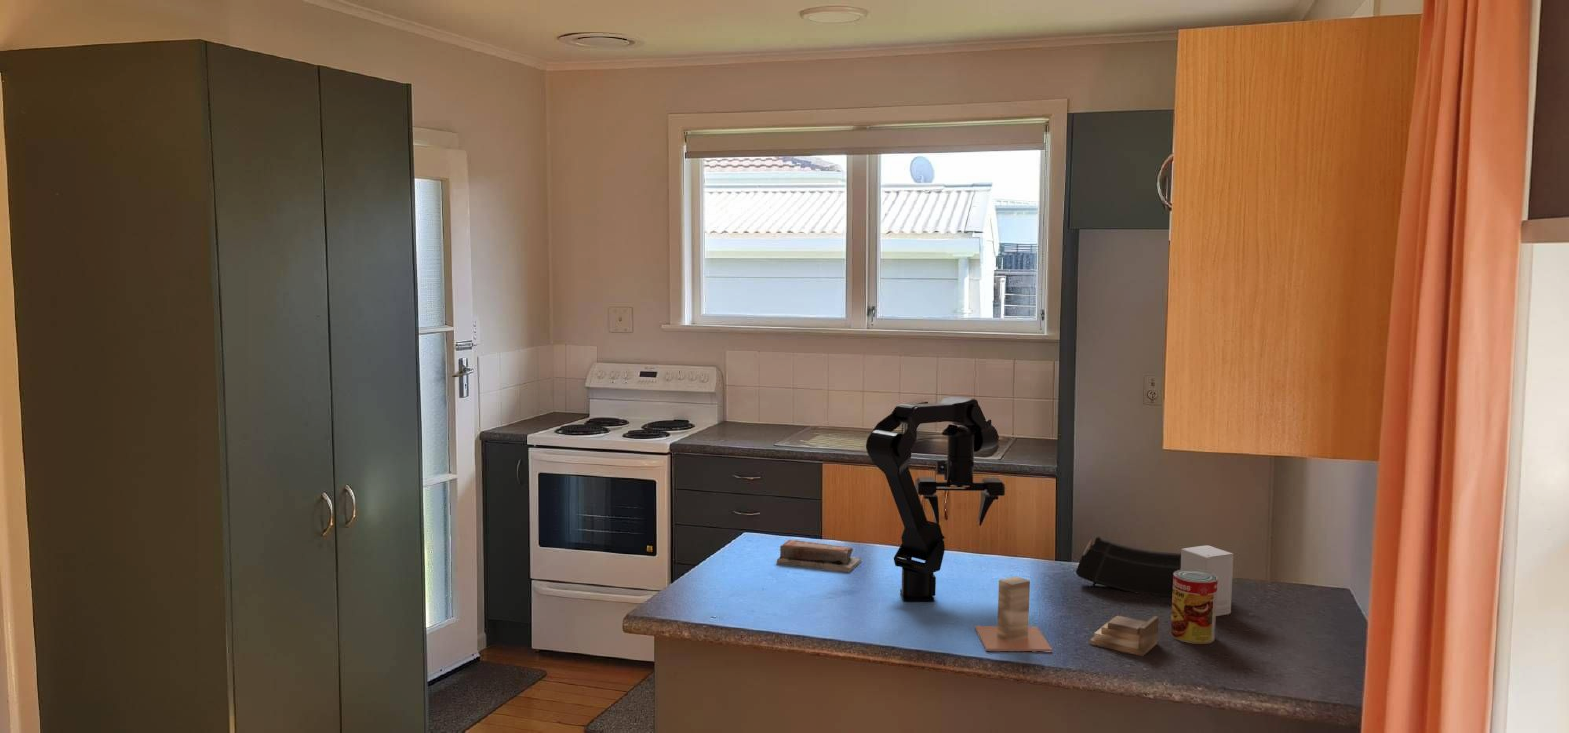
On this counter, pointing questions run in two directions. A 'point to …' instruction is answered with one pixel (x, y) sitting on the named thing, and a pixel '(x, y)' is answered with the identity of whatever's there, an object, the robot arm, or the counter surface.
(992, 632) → the tile
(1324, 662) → the counter surface
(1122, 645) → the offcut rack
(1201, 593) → the canned food
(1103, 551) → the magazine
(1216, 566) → the supplement box
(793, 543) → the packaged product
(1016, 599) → the tall wooden block
